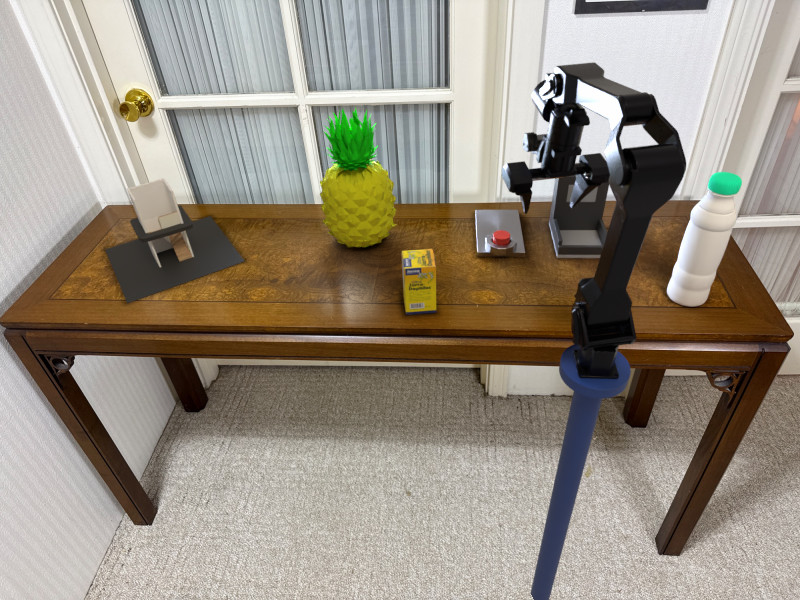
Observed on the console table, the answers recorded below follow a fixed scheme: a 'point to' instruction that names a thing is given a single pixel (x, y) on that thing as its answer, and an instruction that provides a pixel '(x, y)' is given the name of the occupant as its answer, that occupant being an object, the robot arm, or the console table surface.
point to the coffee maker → (577, 221)
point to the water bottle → (705, 241)
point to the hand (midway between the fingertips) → (548, 209)
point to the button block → (494, 222)
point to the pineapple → (356, 185)
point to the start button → (501, 238)
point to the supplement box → (419, 281)
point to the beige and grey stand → (167, 245)
